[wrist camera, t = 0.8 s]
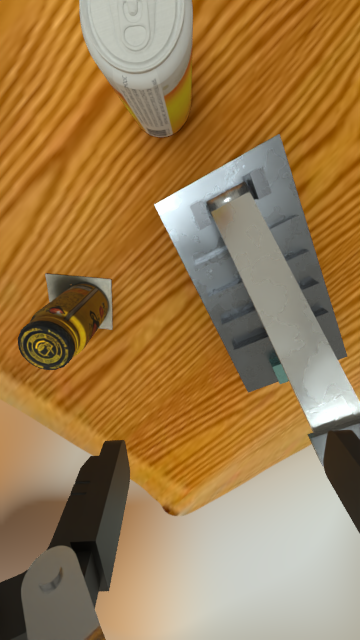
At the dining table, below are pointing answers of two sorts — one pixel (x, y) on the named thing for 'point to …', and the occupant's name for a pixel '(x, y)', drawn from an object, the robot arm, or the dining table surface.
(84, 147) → the dining table surface
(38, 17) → the dining table surface
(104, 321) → the condiment
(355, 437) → the robot arm
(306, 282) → the clamp base
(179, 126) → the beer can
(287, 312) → the bar
